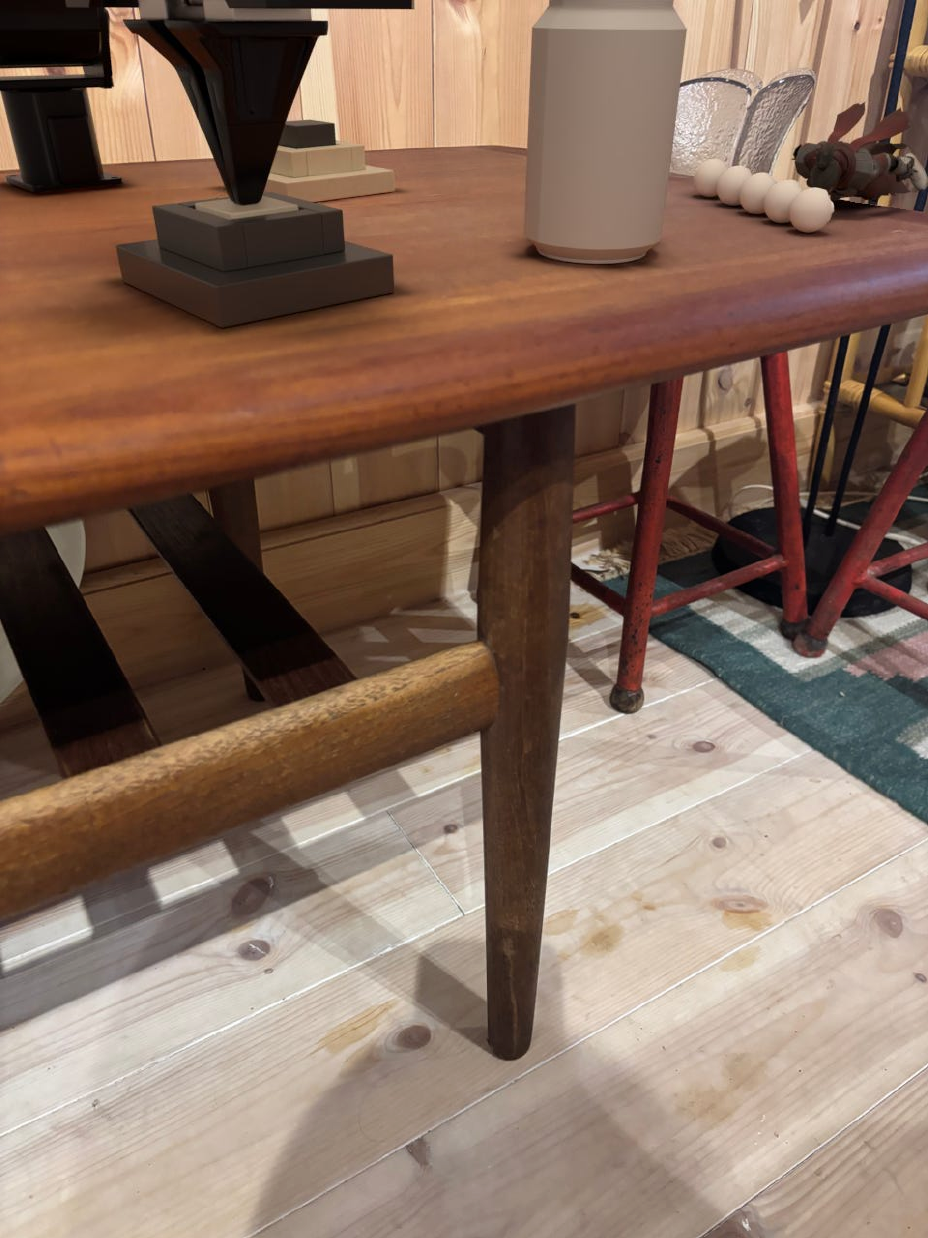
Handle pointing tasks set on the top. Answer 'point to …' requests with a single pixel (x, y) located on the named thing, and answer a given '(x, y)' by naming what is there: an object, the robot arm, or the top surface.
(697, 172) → the spheres
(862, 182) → the action figure
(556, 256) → the can
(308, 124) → the black key
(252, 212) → the beige square block
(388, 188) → the beige stepped base
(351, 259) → the dark grey stepped block
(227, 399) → the top surface
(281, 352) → the top surface
